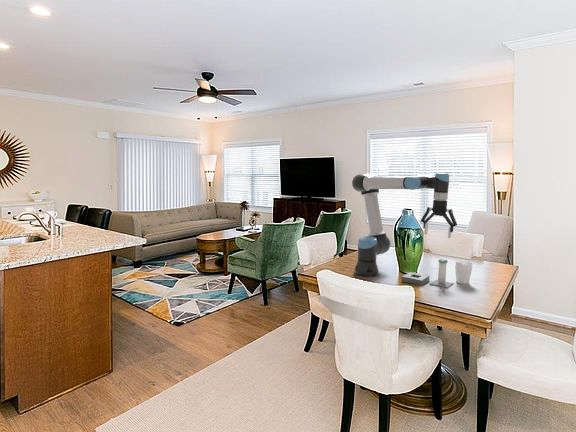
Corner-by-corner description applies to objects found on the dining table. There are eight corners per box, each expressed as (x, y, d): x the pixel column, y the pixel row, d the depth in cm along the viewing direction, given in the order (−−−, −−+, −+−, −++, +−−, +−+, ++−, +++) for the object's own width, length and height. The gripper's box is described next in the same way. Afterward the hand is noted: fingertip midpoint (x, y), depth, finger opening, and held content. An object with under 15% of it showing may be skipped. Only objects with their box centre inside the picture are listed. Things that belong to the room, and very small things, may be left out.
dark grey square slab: (401, 281, 218) (401, 276, 218) (410, 276, 227) (410, 272, 226) (421, 285, 210) (421, 280, 210) (429, 280, 219) (429, 275, 218)
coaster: (429, 284, 212) (429, 283, 211) (436, 280, 219) (436, 279, 219) (447, 288, 205) (447, 287, 205) (453, 284, 212) (453, 283, 212)
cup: (461, 285, 210) (463, 265, 208) (450, 280, 218) (452, 261, 217) (474, 284, 212) (476, 264, 211) (463, 279, 221) (464, 260, 219)
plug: (435, 283, 212) (437, 260, 210) (439, 281, 215) (440, 258, 213) (443, 285, 208) (445, 261, 207) (447, 283, 212) (448, 260, 210)
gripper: (416, 198, 214) (414, 233, 218) (460, 202, 198) (457, 240, 201) (421, 197, 220) (419, 231, 223) (465, 201, 203) (461, 238, 206)
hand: (437, 235), depth 212 cm, fingers open, 13 cm apart
